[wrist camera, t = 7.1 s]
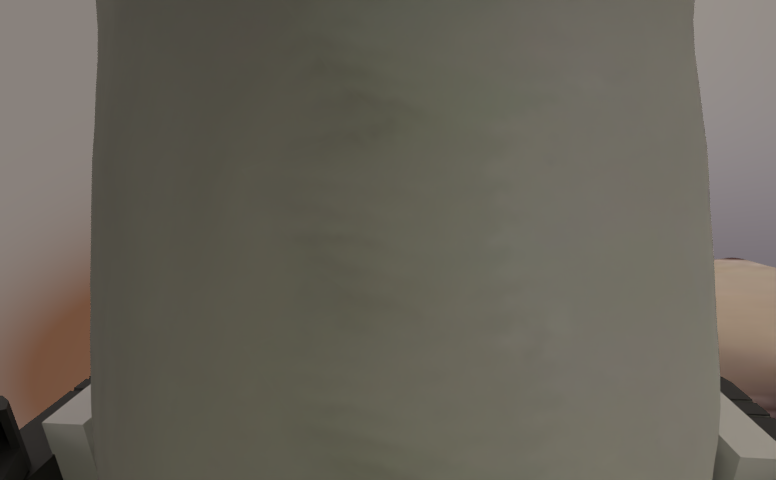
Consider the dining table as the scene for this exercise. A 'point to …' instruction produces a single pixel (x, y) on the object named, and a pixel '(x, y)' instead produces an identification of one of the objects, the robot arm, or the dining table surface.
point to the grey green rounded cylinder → (401, 242)
